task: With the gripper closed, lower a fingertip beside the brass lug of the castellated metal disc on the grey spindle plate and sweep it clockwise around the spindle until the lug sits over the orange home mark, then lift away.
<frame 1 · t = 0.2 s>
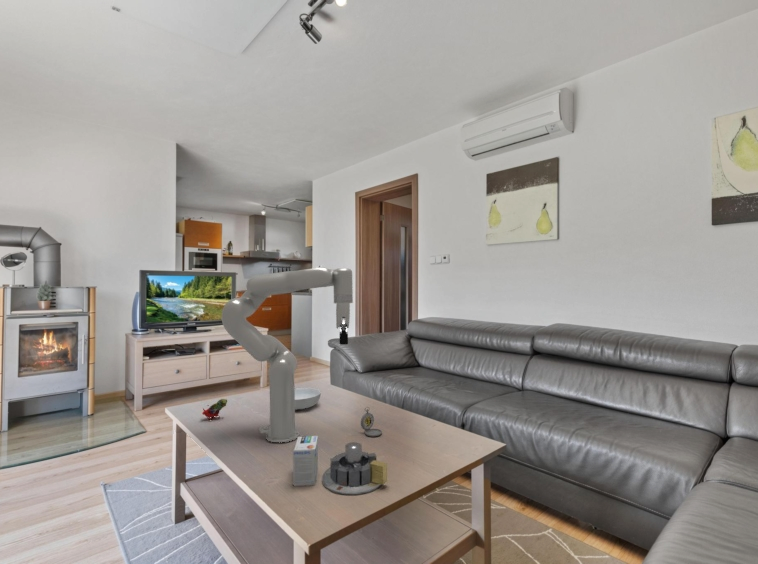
hand: (343, 342, 153), 37 cm above the table, tool pointing down, fingers open, 9 cm apart
castellated metal disc: (358, 465, 118), point 4 cm above the table, hinge at 0.0°
pocket watch: (371, 433, 154), on the table
spindle plate: (353, 478, 118), on the table
serving bowl: (299, 407, 189), on the table
light bulb box: (306, 477, 119), on the table
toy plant: (214, 419, 173), on the table
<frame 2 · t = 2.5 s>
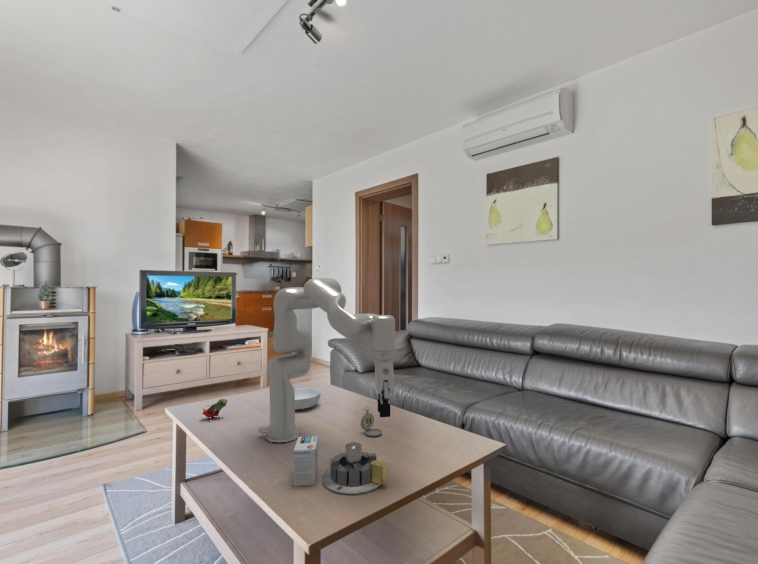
hand: (383, 413, 119), 19 cm above the table, tool pointing down, fingers open, 4 cm apart
nothing on the table moved.
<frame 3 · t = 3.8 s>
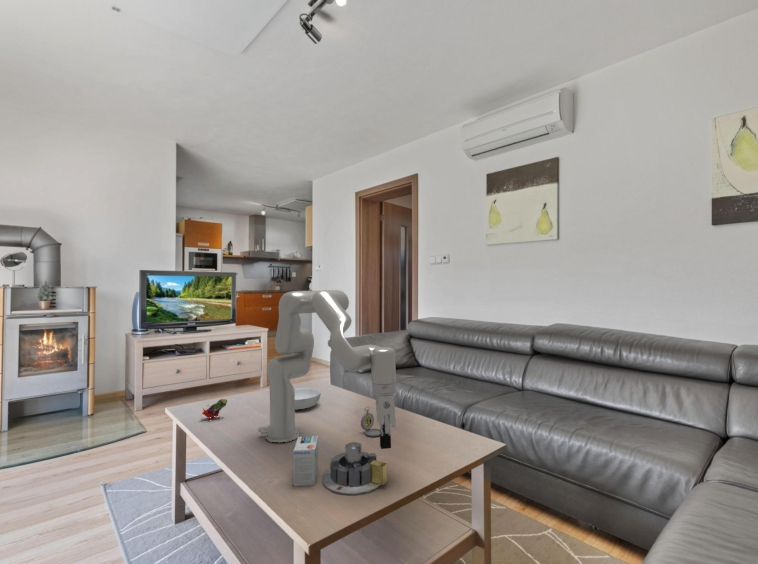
hand: (385, 447, 119), 9 cm above the table, tool pointing down, fingers closed
nothing on the table moved.
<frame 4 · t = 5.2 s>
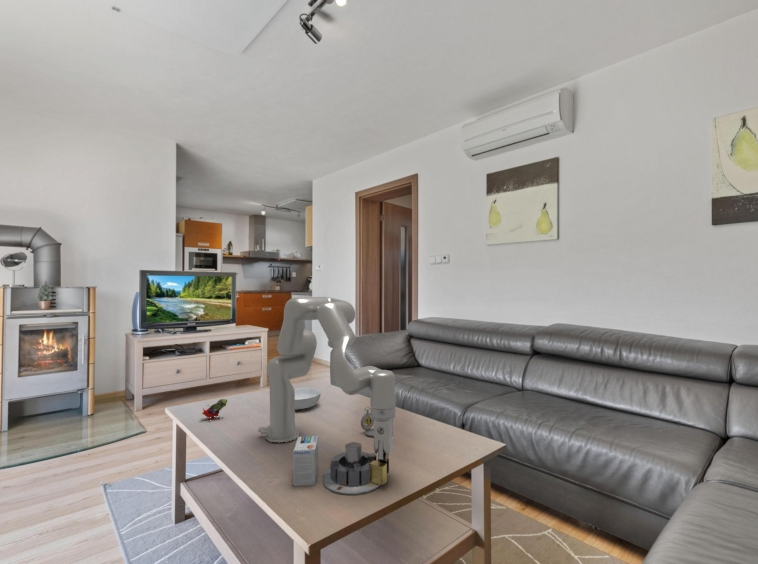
hand: (383, 472, 117), 2 cm above the table, tool pointing down, fingers closed
castellated metal disc: (358, 465, 118), point 4 cm above the table, hinge at -0.8°, touching gripper
everything else where it was.
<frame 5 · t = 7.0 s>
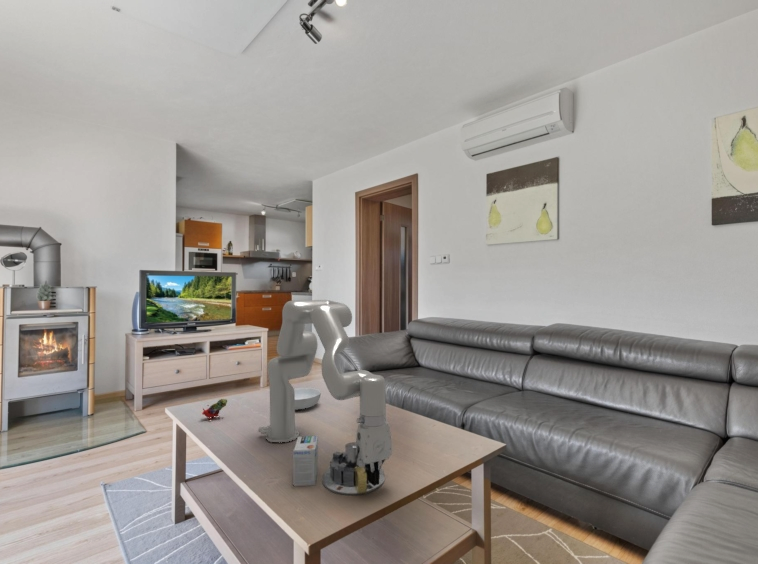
hand: (373, 483, 111), 2 cm above the table, tool pointing down, fingers closed
castellated metal disc: (356, 467, 117), point 4 cm above the table, hinge at -43.5°, touching gripper
everything else where it was.
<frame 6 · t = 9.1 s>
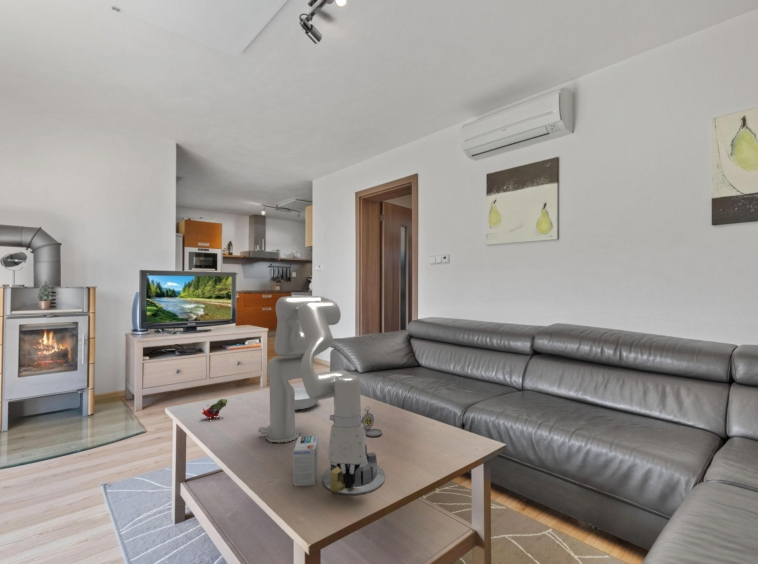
hand: (349, 486, 108), 3 cm above the table, tool pointing down, fingers closed
castellated metal disc: (353, 467, 116), point 4 cm above the table, hinge at -86.5°, touching gripper
everything else where it was.
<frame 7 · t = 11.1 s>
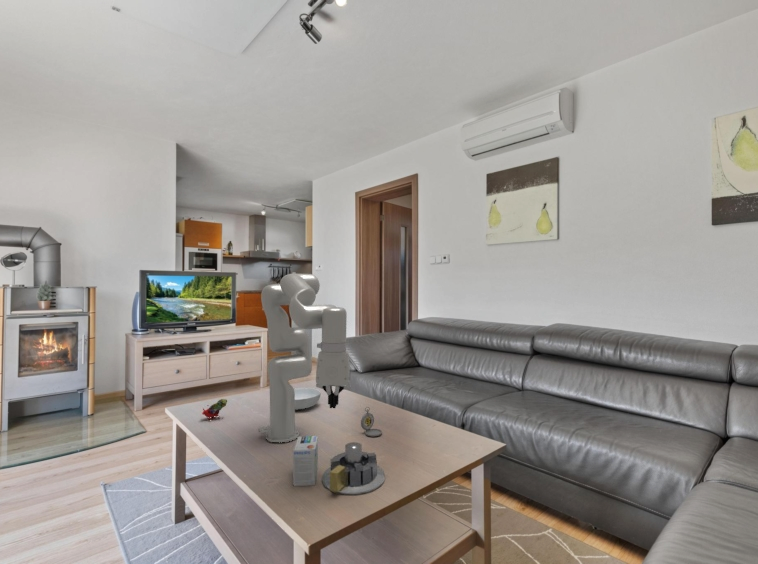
hand: (333, 406, 119), 22 cm above the table, tool pointing down, fingers closed
castellated metal disc: (353, 467, 116), point 4 cm above the table, hinge at -87.1°
everything else where it was.
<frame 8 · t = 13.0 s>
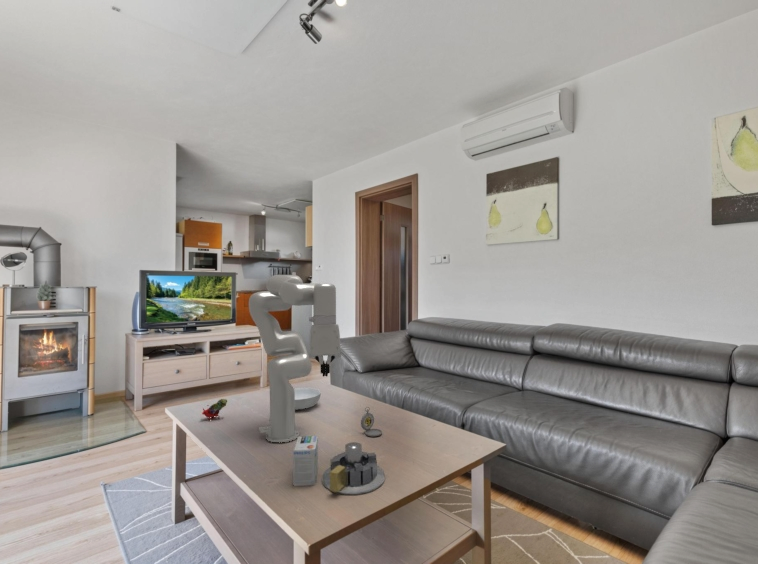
hand: (325, 375, 129), 29 cm above the table, tool pointing down, fingers closed
nothing on the table moved.
at the end: castellated metal disc at -87° (first picture: +0°); light bulb box moved 0.3 cm from its start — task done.
